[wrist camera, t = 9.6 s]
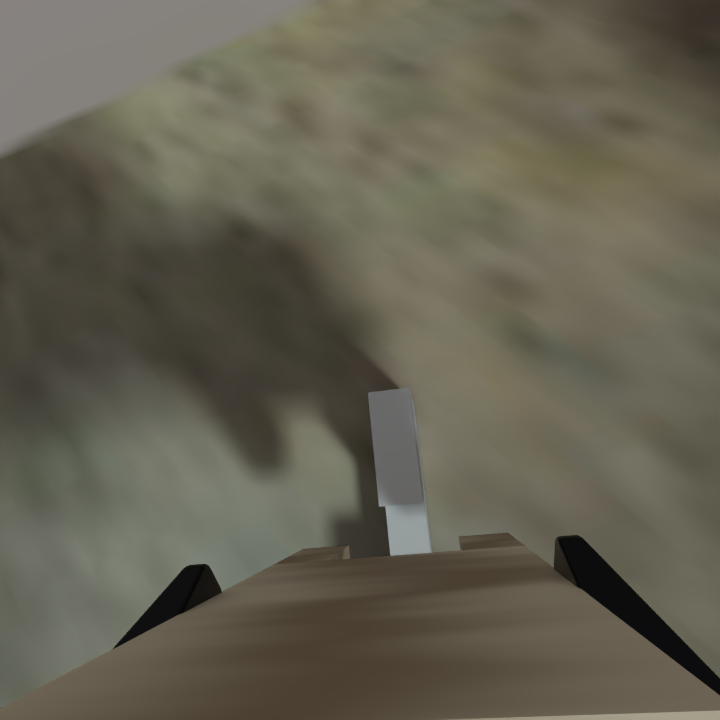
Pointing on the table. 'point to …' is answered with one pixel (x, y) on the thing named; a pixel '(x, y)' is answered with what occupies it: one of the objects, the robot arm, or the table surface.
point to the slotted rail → (399, 471)
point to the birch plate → (386, 649)
